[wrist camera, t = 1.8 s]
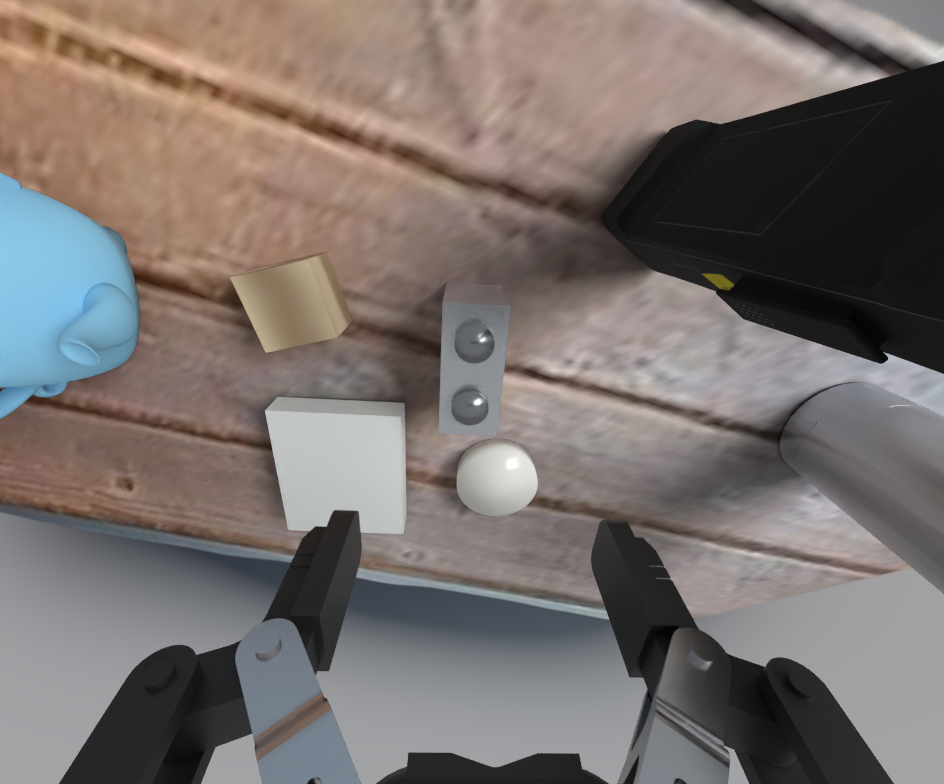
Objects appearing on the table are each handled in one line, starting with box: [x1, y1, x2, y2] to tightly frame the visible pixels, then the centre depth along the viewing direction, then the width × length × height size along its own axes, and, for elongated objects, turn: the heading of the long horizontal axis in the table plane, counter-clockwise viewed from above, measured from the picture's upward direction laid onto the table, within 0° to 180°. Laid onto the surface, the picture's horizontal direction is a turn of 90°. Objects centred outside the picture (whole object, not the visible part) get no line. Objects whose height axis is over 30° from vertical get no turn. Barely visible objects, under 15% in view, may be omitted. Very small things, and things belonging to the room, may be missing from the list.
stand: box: [265, 397, 406, 534], centre depth 33 cm, size 10×12×3 cm
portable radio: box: [602, 61, 944, 374], centre depth 15 cm, size 8×6×25 cm
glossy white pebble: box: [457, 439, 538, 516], centre depth 35 cm, size 7×7×2 cm
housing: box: [439, 282, 511, 436], centre depth 27 cm, size 4×9×7 cm, turn 177°
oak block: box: [230, 252, 352, 353], centre depth 27 cm, size 5×5×4 cm
